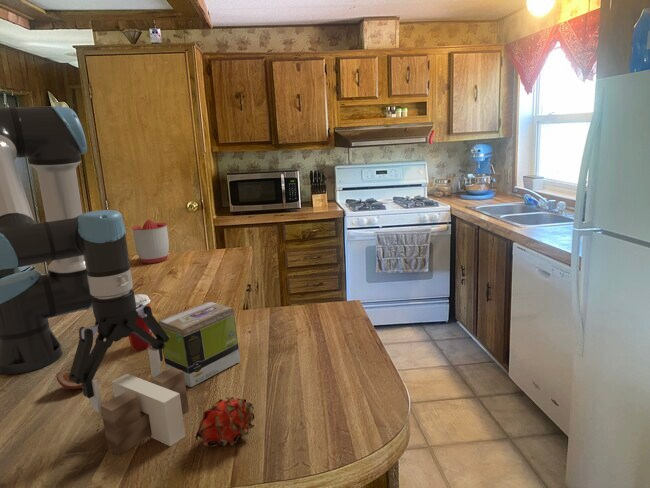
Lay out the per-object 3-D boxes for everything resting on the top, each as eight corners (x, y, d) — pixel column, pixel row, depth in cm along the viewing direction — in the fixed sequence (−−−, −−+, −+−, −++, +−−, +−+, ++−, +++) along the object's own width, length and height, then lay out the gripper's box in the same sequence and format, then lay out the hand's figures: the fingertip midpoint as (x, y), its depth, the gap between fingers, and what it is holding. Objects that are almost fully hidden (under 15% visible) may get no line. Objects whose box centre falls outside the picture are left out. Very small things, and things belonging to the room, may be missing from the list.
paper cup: (162, 343, 131) (155, 295, 128) (139, 354, 125) (131, 305, 122) (144, 338, 135) (137, 292, 132) (120, 349, 129) (112, 301, 125)
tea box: (216, 352, 124) (209, 299, 120) (241, 362, 117) (235, 307, 114) (165, 376, 112) (157, 319, 109) (190, 389, 106) (182, 328, 103)
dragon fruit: (262, 433, 91) (205, 469, 85) (240, 397, 95) (184, 429, 89) (268, 416, 85) (207, 453, 79) (244, 378, 89) (184, 410, 83)
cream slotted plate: (185, 436, 89) (179, 393, 87) (170, 446, 86) (164, 402, 84) (133, 412, 98) (127, 373, 96) (118, 421, 95) (111, 381, 93)
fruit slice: (96, 375, 115) (93, 357, 114) (102, 386, 109) (98, 367, 108) (58, 387, 110) (54, 368, 109) (62, 399, 105) (57, 379, 104)
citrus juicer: (163, 254, 235) (157, 214, 231) (176, 260, 222) (171, 218, 217) (131, 260, 226) (124, 219, 221) (143, 267, 213) (137, 223, 208)
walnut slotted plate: (119, 455, 85) (111, 410, 83) (108, 449, 87) (100, 405, 85) (188, 410, 98) (183, 371, 96) (177, 405, 100) (172, 367, 98)
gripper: (56, 319, 77) (78, 432, 82) (178, 276, 97) (190, 369, 102) (33, 311, 81) (56, 419, 86) (155, 271, 101) (167, 361, 106)
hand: (128, 392), depth 94 cm, fingers open, 13 cm apart
